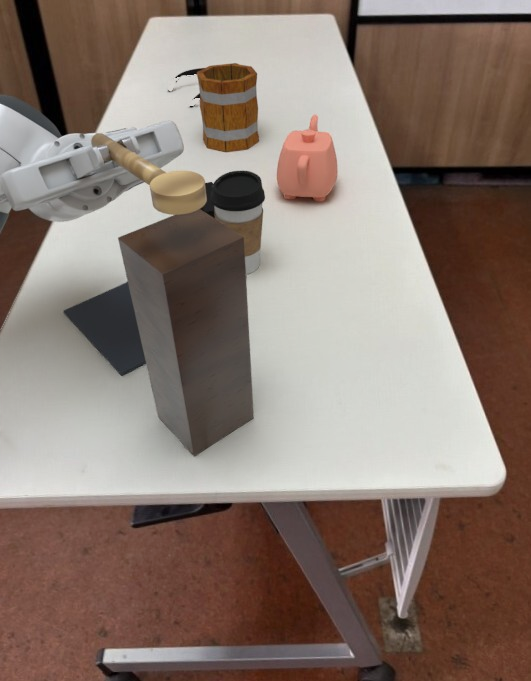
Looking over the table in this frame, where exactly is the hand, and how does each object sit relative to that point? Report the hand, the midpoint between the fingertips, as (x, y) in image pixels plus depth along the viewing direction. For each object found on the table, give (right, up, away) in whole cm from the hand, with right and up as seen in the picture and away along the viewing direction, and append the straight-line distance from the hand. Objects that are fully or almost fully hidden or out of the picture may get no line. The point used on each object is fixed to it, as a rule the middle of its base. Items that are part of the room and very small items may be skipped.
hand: (118, 149), depth 56 cm
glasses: (-2, +50, +103) cm, 115 cm away
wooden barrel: (+7, +30, +81) cm, 87 cm away
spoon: (+3, -3, -2) cm, 4 cm away
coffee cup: (+11, -6, +40) cm, 42 cm away
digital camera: (+4, +1, +48) cm, 49 cm away
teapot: (+23, +12, +60) cm, 65 cm away
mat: (-6, -16, +29) cm, 34 cm away
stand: (+7, -28, +15) cm, 33 cm away
